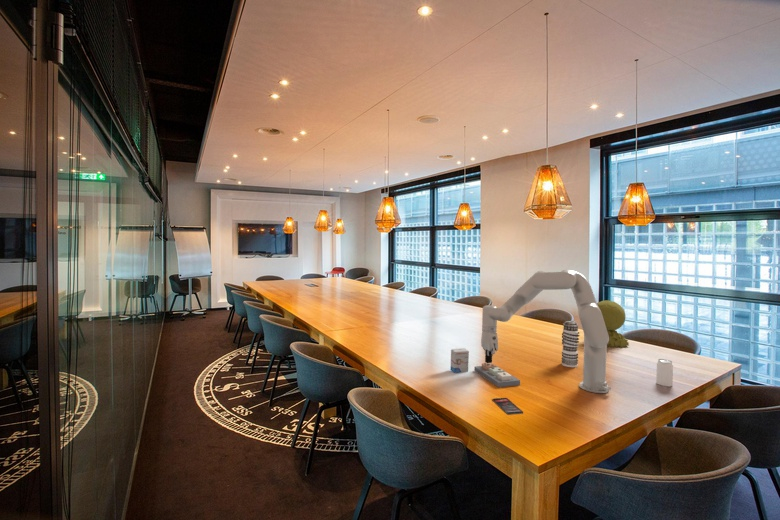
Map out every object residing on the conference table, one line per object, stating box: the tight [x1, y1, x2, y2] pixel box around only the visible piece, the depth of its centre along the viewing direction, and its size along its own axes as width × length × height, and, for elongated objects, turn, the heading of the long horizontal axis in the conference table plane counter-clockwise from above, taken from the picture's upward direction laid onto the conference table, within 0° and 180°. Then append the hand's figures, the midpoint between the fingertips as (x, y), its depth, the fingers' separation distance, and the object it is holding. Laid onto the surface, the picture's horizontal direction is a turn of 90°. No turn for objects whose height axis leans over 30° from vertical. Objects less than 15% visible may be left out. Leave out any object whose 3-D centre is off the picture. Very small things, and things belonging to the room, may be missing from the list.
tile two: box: [489, 366, 504, 376], centre depth 195 cm, size 5×5×3 cm
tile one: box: [497, 371, 513, 381], centre depth 188 cm, size 5×5×3 cm
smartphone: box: [491, 397, 524, 416], centre depth 162 cm, size 7×1×15 cm
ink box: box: [450, 347, 470, 374], centre depth 205 cm, size 8×5×12 cm, turn 105°
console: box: [474, 365, 521, 388], centre depth 195 cm, size 24×12×2 cm, turn 16°
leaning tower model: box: [561, 320, 580, 368], centre depth 216 cm, size 9×9×25 cm
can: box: [655, 358, 674, 388], centre depth 187 cm, size 6×6×12 cm
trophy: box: [596, 300, 630, 348], centre depth 263 cm, size 22×22×30 cm
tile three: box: [481, 362, 497, 371], centre depth 203 cm, size 5×5×3 cm
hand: (488, 362), depth 202 cm, fingers closed
